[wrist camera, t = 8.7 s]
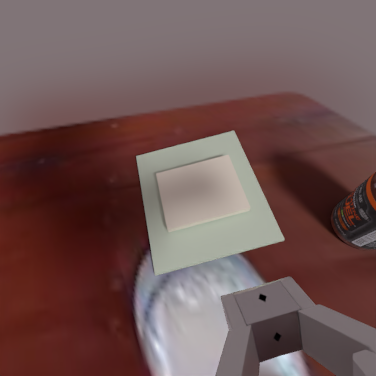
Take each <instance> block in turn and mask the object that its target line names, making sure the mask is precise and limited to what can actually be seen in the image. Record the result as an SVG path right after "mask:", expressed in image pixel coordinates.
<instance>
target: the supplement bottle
mask: <svg viewBox="0 0 376 376" xmlns="http://www.w3.org/2000/svg"><path fill="white" fill-rule="evenodd" d="M331 224H332V227H333V229H334V231H335V233H336V234H337V235H338V237H339V238H340V239H341V240H342V241H344V242H345V243H346V244H348V245H350V246H352V247H354V248H357V249H361V250H375V249H376V172H375V173H374V174H372V175H371V176H370V177H369V178H368V179H367V180H365V181H364V182H363V183H362V184H361V185H360V186H358V187H357V188H356V189H355V190H354V191H352V192H351V193H350V194H349V195H348V196H346V197H345V198H344V199H343V200H342V201H340V202H339V203H338V204H337V205H336V206H335V208H334V209H333V211H332V214H331Z"/></svg>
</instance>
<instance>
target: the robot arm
mask: <svg viewBox="0 0 376 376" xmlns="http://www.w3.org/2000/svg"><path fill="white" fill-rule="evenodd" d="M221 301H222V305H223V309H224V313H225V317H226V321H227V324H228V328H229V331H228V335H227V338H226V342H225V345H224V348H223V352H222V355H221V358H220V362H219V365H218V369H217V372H216V375H215V376H259V366H260V364H259V363H260V362H263V361H266V360H269V359H272V358H275V357H278V356H281V355H285V354H288V353H292V352H296V351H300V350H303V351H304V352H305V353H307V354H308V355H309V356H311V357H312V358H313V359H315V360H316V361H318V362H319V363H320V364H322V365H323V366H324V367H326V368H327V369H328V370H330V371H331V372H332V373H334V374H335V375H337V376H376V329H375V328H373V327H370V326H368V325H366V324H363V323H361V322H359V321H357V320H354V319H352V318H350V317H347V316H345V315H343V314H341V313H338V312H336V311H334V310H331V309H329V308H327V307H325V306H322V305H320V304H319V305H315V304H314V303H313V301H312V300H311V299H310V298H309V297H308V296H307V295H306V293H305V292H304V291H303V290H302V289H301V288H300V287H299V285H298V284H297V283H296V282H295V281H294V280H293V279H292V278H291V277H286V278H282V279H279V280H276V281H273V282H270V283H266V284H263V285H260V286H256V287H253V288H249V289H245V290H241V291H238V292H234V293H233V294H232V293H231V294H227V295H223V296H221Z"/></svg>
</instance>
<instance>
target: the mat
mask: <svg viewBox="0 0 376 376" xmlns="http://www.w3.org/2000/svg"><path fill="white" fill-rule="evenodd" d="M225 155H229V157H230V159H231V162H232V164H233V166H234V169H235V171H236V174H237V176H238V178H239V181H240V183H241V186H242V188H243V190H244V193H245V195H246V198H247V200H248V202H249V205H250V207H251V208H250V211H247V212H243V213H240V214H236V215H232V216H229V217H225V218H221V219H217V220H214V221H210V222H206V223H202V224H199V225H195V226H191V227H188V228H184V229H180V230H176V231H173V232H168V230H167V225H166V220H165V215H164V211H163V206H162V201H161V196H160V191H159V186H158V181H157V176H156V173H160V172H164V171H168V170H172V169H176V168H179V167H183V166H187V165H191V164H195V163H198V162H202V161H206V160H210V159H214V158H217V157H221V156H225ZM136 159H137V165H138V171H139V178H140V184H141V190H142V197H143V203H144V209H145V216H146V222H147V228H148V235H149V241H150V247H151V254H152V260H153V266H154V273H155V275H160V274H164V273H167V272H171V271H175V270H178V269H182V268H186V267H189V266H193V265H197V264H200V263H204V262H208V261H211V260H215V259H219V258H222V257H226V256H230V255H233V254H237V253H241V252H244V251H248V250H252V249H255V248H259V247H263V246H266V245H270V244H274V243H277V242H281V241H284V240H285V239H284V237H283V235H282V233H281V231H280V229H279V226H278V224H277V222H276V220H275V218H274V216H273V213H272V211H271V209H270V207H269V205H268V203H267V201H266V198H265V196H264V194H263V192H262V190H261V188H260V185H259V183H258V181H257V179H256V177H255V175H254V172H253V170H252V168H251V166H250V164H249V162H248V160H247V157H246V155H245V153H244V151H243V149H242V147H241V144H240V142H239V140H238V138H237V136H236V134H235V132H234V131H231V132H227V133H223V134H219V135H215V136H211V137H207V138H204V139H200V140H196V141H192V142H188V143H184V144H181V145H177V146H173V147H169V148H165V149H161V150H158V151H154V152H150V153H146V154H142V155H138V156H136Z"/></svg>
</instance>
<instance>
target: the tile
mask: <svg viewBox="0 0 376 376" xmlns="http://www.w3.org/2000/svg"><path fill="white" fill-rule="evenodd" d="M156 176H157V181H158V186H159V191H160V196H161V201H162V206H163V211H164V215H165V220H166V225H167V230H168V232H173V231H176V230H180V229H184V228H188V227H191V226H195V225H199V224H202V223H206V222H210V221H214V220H217V219H221V218H225V217H229V216H232V215H236V214H240V213H243V212H247V211H250V208H251V207H250V205H249V202H248V200H247V198H246V195H245V193H244V190H243V188H242V186H241V183H240V181H239V178H238V176H237V174H236V171H235V169H234V166H233V164H232V162H231V159H230V157H229V155H225V156H221V157H217V158H214V159H210V160H206V161H202V162H198V163H195V164H191V165H187V166H183V167H179V168H176V169H172V170H168V171H164V172H160V173H156Z"/></svg>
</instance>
